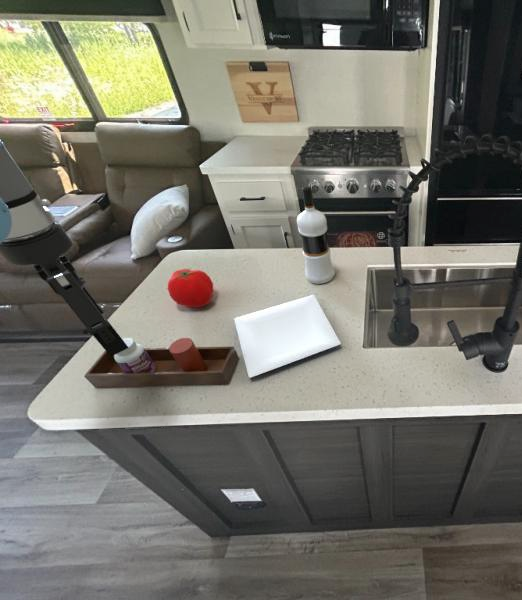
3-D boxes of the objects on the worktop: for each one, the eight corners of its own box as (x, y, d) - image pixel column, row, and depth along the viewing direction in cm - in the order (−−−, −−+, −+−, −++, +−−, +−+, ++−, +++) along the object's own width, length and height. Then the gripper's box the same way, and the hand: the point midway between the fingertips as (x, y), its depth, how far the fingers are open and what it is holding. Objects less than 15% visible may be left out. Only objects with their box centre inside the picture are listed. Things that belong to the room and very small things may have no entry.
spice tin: (189, 382, 75) (172, 356, 69) (182, 370, 77) (166, 344, 72) (210, 371, 77) (195, 346, 71) (203, 360, 80) (189, 334, 74)
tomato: (192, 319, 91) (176, 291, 84) (167, 302, 96) (151, 274, 89) (228, 298, 98) (216, 271, 91) (203, 283, 103) (190, 256, 97)
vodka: (320, 288, 103) (305, 197, 83) (300, 278, 107) (281, 188, 87) (340, 275, 109) (330, 186, 89) (320, 265, 113) (307, 178, 93)
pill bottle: (143, 383, 74) (121, 356, 68) (124, 378, 75) (100, 351, 69) (162, 365, 78) (142, 337, 72) (143, 360, 79) (122, 333, 73)
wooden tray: (95, 388, 73) (83, 376, 71) (116, 360, 79) (106, 348, 77) (228, 384, 75) (222, 372, 72) (239, 358, 81) (234, 346, 78)
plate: (314, 299, 99) (313, 293, 98) (341, 348, 84) (341, 343, 83) (235, 323, 90) (233, 317, 89) (251, 382, 76) (248, 377, 74)
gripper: (81, 251, 43) (155, 355, 57) (38, 197, 55) (108, 294, 69) (4, 276, 39) (104, 382, 52) (-25, 211, 51) (63, 312, 64)
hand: (106, 332), depth 61 cm, fingers open, 13 cm apart
